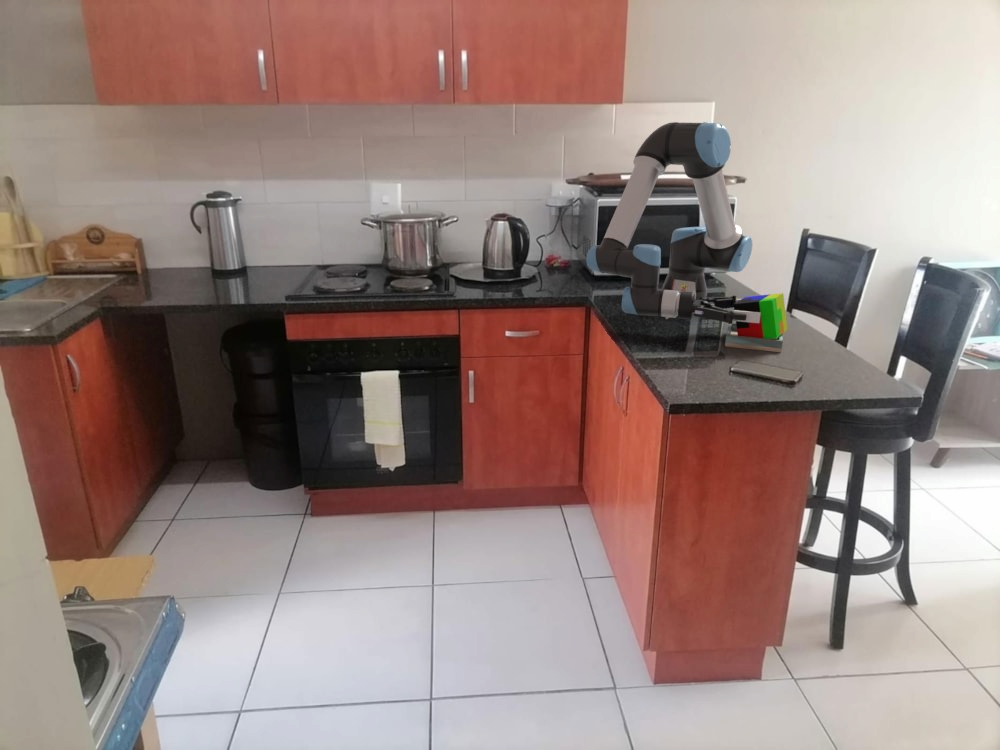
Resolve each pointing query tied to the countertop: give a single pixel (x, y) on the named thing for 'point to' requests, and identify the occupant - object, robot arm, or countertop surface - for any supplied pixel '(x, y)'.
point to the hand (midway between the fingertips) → (760, 311)
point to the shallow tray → (752, 341)
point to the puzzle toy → (763, 316)
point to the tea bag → (684, 286)
